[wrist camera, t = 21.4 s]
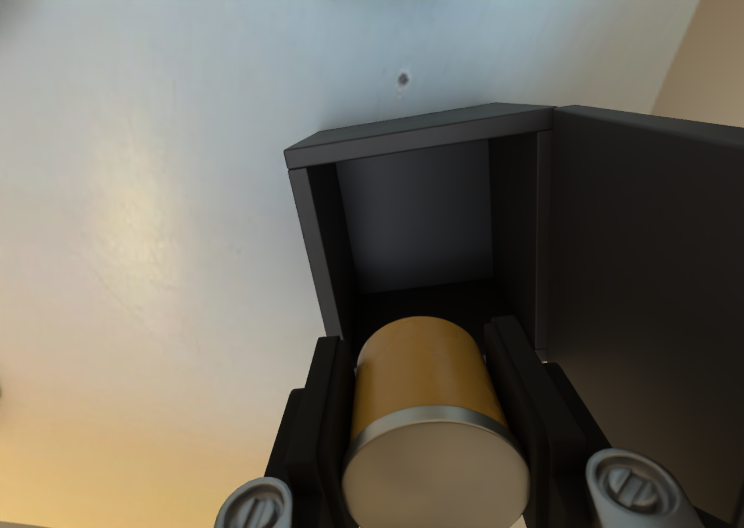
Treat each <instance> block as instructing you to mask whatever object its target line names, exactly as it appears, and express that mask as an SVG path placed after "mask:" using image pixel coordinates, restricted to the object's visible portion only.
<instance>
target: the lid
mask: <svg viewBox="0 0 744 528" xmlns="http://www.w3.org/2000/svg"><path fill="white" fill-rule="evenodd" d="M551 362H556V363H558V364H559V365H560V367H561V368H562V369H563V371H564V373H565V374H566V376H567V377H568V379H569V380H570V382H571V383H572V385H573V387H574V388H575V390H576V391H577V393H578V394H579V396H580V397H581V399H582V401H583V402H584V404H585V405H586V407H587V408H588V410H589V411H590V413H591V415H592V416H593V418H594V419H595V421H596V422H597V424H598V425H599V427H600V429H601V430H602V432H603V433H604V435H605V436H606V438H607V440H608V441H609V443H610V444H611V446H612V447H613V448H622V449H629V450H633V451H636V452H639V453H641V454H644V455H647V456H648V457H650V458H652V459H654V460H655V461H657V462H659V463H660V464H662V465H663V466H664V467H665V468H666V469H667V470H669V471H670V472H671V473H672V474H673V475H674V477H675V478H676V479H677V481H678V482H679V483H680V485H681V486H682V488H683V490H684V491H685V493H686V495H687V497H688V498H689V500H690V502H691V504H692V505H693V506H695V507H697V508H699V509H701V510H703V511H705V512H707V513H709V514H711V515H713V516H715V517H717V518H719V519H721V520H723V521H725V522H727V523H729V524H731V525H733V526H735V527H737V528H744V128H742V127H734V126H726V125H719V124H712V123H705V122H698V121H690V120H683V119H675V118H668V117H661V116H654V115H646V114H639V113H632V112H624V111H617V110H609V109H602V108H595V107H587V106H580V105H571V106H564V107H557V108H554V110H553V147H552V188H551V229H550V269H549V310H548V351H547V363H551Z"/></svg>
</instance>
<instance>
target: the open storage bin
mask: <svg viewBox="0 0 744 528" xmlns="http://www.w3.org/2000/svg"><path fill="white" fill-rule="evenodd" d="M554 108H557V106H544V105H527V104H510V103H491V104H485V105H479V106H473V107H466V108H460V109H454V110H448V111H442V112H436V113H429V114H423V115H417V116H411V117H405V118H399V119H392V120H386V121H380V122H374V123H368V124H362V125H355V126H349V127H343V128H337V129H331V130H325V131H319V132H317V133H315V134H313V135H312V136H310V137H308V138H306V139H304V140H302V141H300V142H298V143H296V144H294V145H293V146H291V147H289V148H287V149H285V150H284V156H285V161H286V165H287V168H288V169H289V170H288V174H289V179H290V183H291V187H292V191H293V195H294V200H295V204H296V208H297V212H298V217H299V221H300V225H301V229H302V234H303V238H304V242H305V246H306V251H307V255H308V259H309V263H310V268H311V272H312V276H313V280H314V285H315V289H316V293H317V297H318V302H319V306H320V310H321V314H322V319H323V323H324V327H325V331H326V336H336V335H339V336H340V338H341V340H348V343H349V348H350V353H351V357H352V362H353V367H354V371H355V376H356V371H357V363H358V358H359V355H360V352H361V350H362V348H363V346H364V345H365V343H366V342H367V341H368V339H369V338H370V337H371V336H372V335H373V334H374V333H375V332H377V331H378V330H379V329H381V328H382V327H384V326H385V325H387V324H389V323H392V322H394V321H396V320H400V319H403V318H408V317H415V316H428V317H435V318H440V319H444V320H447V321H449V322H452V323H454V324H456V325H457V326H459V327H461V328H462V329H464V330H465V331H466V332H467V333H469V334H470V336H471V337H472V338H473V339H474V340H475V342H476V343H477V344H478V346H479V348H480V350H481V353H482V356H483V358H484V361H485V364H486V355H485V334H484V325H485V324H488V323H491V319H492V317H501V316H510V315H514V316H515V317H516V319H517V321H518V322H519V324H520V326H521V328H522V329H523V331H524V333H525V334H526V336H527V338H528V340H529V341H530V343H531V345H532V347H533V348H534V350H535V352H536V353H537V355H538V357H539V359H540V360H541V362H544V361H547V351H548V310H549V269H550V229H551V188H552V147H553V110H554Z"/></svg>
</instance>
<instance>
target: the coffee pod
mask: <svg viewBox="0 0 744 528" xmlns="http://www.w3.org/2000/svg"><path fill="white" fill-rule="evenodd" d="M340 486H341V491H342V495H343V498H344V502H345V506H346V509H347V512H348V514H349V515H350V517H351V518H352V519H353V520H354V522H355V523H356V524H357V525H358V526H360V527H361V528H509V527H511V526H512V525H513V524H514V523H515V522H516V521H517V520H518V519H519V518H520V516H521V515H522V514H523V512H524V511H525V509H526V507H527V505H528V503H529V501H530V495H531V471H530V465H529V463H528V460H527V458H526V455H525V453H524V450H523V448H522V446H521V444H520V443H519V441H518V440H517V439H516V437H515V436H514V435H513V434H512V433H511V431H510V428H509V425H508V423H507V420H506V417H505V415H504V412H503V409H502V407H501V404H500V401H499V399H498V396H497V393H496V390H495V388H494V385H493V382H492V380H491V377H490V374H489V372H488V369H487V366H486V364H485V361H484V358H483V356H482V353H481V350H480V348H479V346H478V344H477V343H476V342H475V340H474V339H473V338H472V337H471V336H470V334H469V333H467V332H466V331H465V330H464V329H462V328H461V327H459V326H457V325H456V324H454V323H452V322H449V321H447V320H444V319H440V318H435V317H428V316H415V317H408V318H403V319H400V320H396V321H394V322H392V323H389V324H387V325H385V326H384V327H382V328H381V329H379V330H378V331H377V332H375V333H374V334H373V335H372V336H371V337H370V338H369V339H368V341H367V342H366V343H365V345H364V346H363V348H362V350H361V352H360V355H359V358H358V363H357V371H356V381H355V391H354V401H353V411H352V421H351V431H350V440H349V447H348V449H347V451H346V453H345V456H344V458H343V463H342V468H341V477H340Z"/></svg>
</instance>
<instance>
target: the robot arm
mask: <svg viewBox="0 0 744 528" xmlns="http://www.w3.org/2000/svg"><path fill="white" fill-rule="evenodd" d="M484 334H485V355H486V366H487V369H488V372H489V374H490V377H491V380H492V382H493V385H494V388H495V390H496V393H497V396H498V399H499V401H500V404H501V407H502V409H503V412H504V415H505V417H506V420H507V423H508V425H509V428H510V431H511V433H512V434H513V435H514V436H515V437H516V439H517V440H518V441H519V443H520V444H521V446H522V448H523V450H524V453H525V455H526V458H527V460H528V463H529V465H530V471H531V495H530V501H529V503H528V505H527V507H526V509H525V511H524V512H523V514H522V515H523V518H524V520H525V524H526V527H527V528H737V527H735V526H733V525H731V524H729V523H727V522H725V521H723V520H721V519H719V518H717V517H715V516H713V515H711V514H709V513H707V512H705V511H703V510H701V509H699V508H697V507H695V506H693V505H692V504H691V502H690V500H689V498H688V497H687V495H686V493H685V491H684V490H683V488H682V486H681V485H680V483H679V482H678V481H677V479H676V478H675V477H674V475H673V474H672V473H671V472H670V471H669V470H667V469H666V468H665V467H664V466H663V465H662V464H660V463H659V462H657V461H655V460H654V459H652V458H650V457H648V456H647V455H644V454H641V453H639V452H636V451H633V450H629V449H622V448H613V447H612V446H611V444H610V443H609V441H608V440H607V438H606V436H605V435H604V433H603V432H602V430H601V429H600V427H599V425H598V424H597V422H596V421H595V419H594V418H593V416H592V415H591V413H590V411H589V410H588V408H587V407H586V405H585V404H584V402H583V401H582V399H581V397H580V396H579V394H578V393H577V391H576V390H575V388H574V387H573V385H572V383H571V382H570V380H569V379H568V377H567V376H566V374H565V373H564V371H563V369H562V368H561V367H560V365H559V364H558V363H556V362H551V363H542V362H541V360H540V359H539V357H538V355H537V353H536V352H535V350H534V348H533V347H532V345H531V343H530V341H529V340H528V338H527V336H526V334H525V333H524V331H523V329H522V328H521V326H520V324H519V322H518V321H517V319H516V317H515V316H514V315H510V316H501V317H492V319H491V323H488V324H485V325H484ZM355 381H356V376H355V371H354V367H353V362H352V357H351V353H350V348H349V343H348V340H341V338H340V336H339V335H336V336H327V337H319V338H318V341H317V344H316V348H315V352H314V355H313V359H312V363H311V366H310V370H309V374H308V377H307V381H306V385H305V388H300V389H293V390H292V391H291V393H290V395H289V398H288V401H287V405H286V408H285V411H284V414H283V417H282V421H281V424H280V427H279V430H278V433H277V436H276V440H275V443H274V446H273V449H272V452H271V455H270V459H269V462H268V465H267V468H266V471H265V474H264V477H261V478H257V479H254V480H251V481H248V482H247V483H245V484H244V485H242V486H240V487H239V488H237V489H236V490H235V491H234V492H233V493H232V494H231V495H230V496H229V497H228V498H227V499H226V501H225V502H224V504H223V505H222V506H221V508H220V510H219V513H218V515H217V518H216V521H215V525H214V528H359V526H358V525H357V524H356V523H355V522H354V520H353V519H352V518H351V517H350V515H349V514H348V512H347V509H346V506H345V502H344V498H343V495H342V491H341V486H340V477H341V468H342V463H343V458H344V456H345V453H346V451H347V449H348V447H349V440H350V431H351V421H352V411H353V401H354V391H355Z"/></svg>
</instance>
